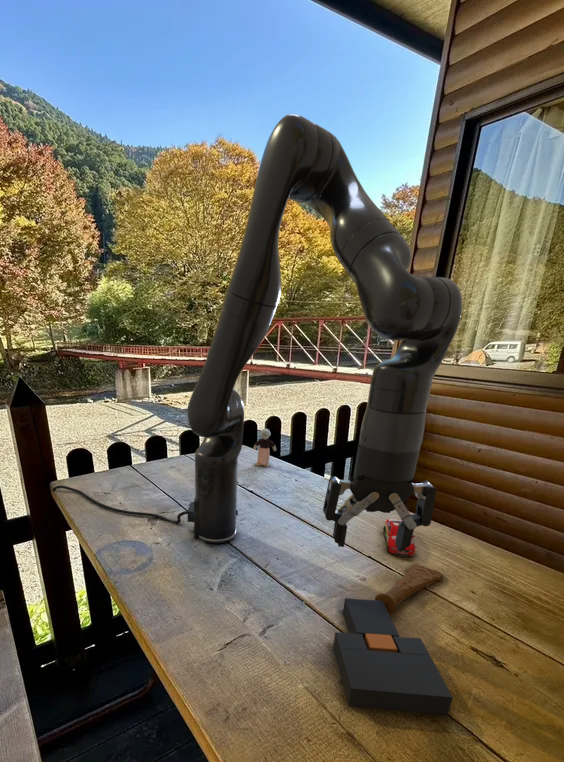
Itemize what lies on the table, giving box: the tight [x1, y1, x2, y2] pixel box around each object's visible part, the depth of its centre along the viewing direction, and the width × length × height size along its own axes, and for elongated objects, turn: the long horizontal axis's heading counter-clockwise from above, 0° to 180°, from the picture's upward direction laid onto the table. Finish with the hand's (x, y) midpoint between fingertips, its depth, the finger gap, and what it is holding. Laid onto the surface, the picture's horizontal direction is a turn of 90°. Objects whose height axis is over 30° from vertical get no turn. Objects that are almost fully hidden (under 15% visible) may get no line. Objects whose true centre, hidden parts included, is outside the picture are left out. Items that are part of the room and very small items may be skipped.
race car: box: [382, 518, 416, 557], centre depth 89 cm, size 13×5×4 cm, turn 161°
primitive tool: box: [374, 563, 444, 615], centre depth 73 cm, size 19×6×4 cm, turn 133°
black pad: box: [332, 631, 454, 716], centre depth 56 cm, size 12×10×3 cm
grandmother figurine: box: [252, 428, 277, 468], centre depth 136 cm, size 8×4×13 cm, turn 81°
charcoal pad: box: [342, 598, 400, 653], centre depth 63 cm, size 6×11×3 cm, turn 173°
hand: (369, 546), depth 61 cm, fingers open, 8 cm apart
